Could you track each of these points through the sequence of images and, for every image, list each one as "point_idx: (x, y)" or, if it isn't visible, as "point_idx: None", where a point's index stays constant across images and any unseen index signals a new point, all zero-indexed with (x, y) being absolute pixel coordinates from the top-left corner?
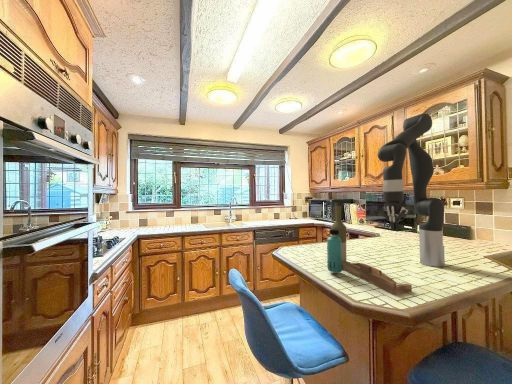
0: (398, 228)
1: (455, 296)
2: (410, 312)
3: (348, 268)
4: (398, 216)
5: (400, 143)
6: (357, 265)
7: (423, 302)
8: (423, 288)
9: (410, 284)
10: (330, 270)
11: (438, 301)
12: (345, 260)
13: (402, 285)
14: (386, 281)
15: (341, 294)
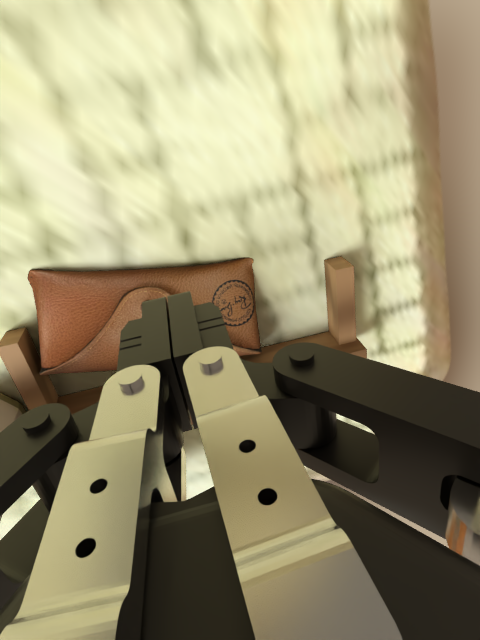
0: (219, 312)
1: (423, 96)
2: (446, 355)
3: None
4: (361, 485)
5: None
6: (62, 372)
7: (417, 276)
8: (324, 174)
9: (350, 268)
10: None
11: (429, 216)
12: (7, 425)
13: (349, 307)
14: None
15: None
